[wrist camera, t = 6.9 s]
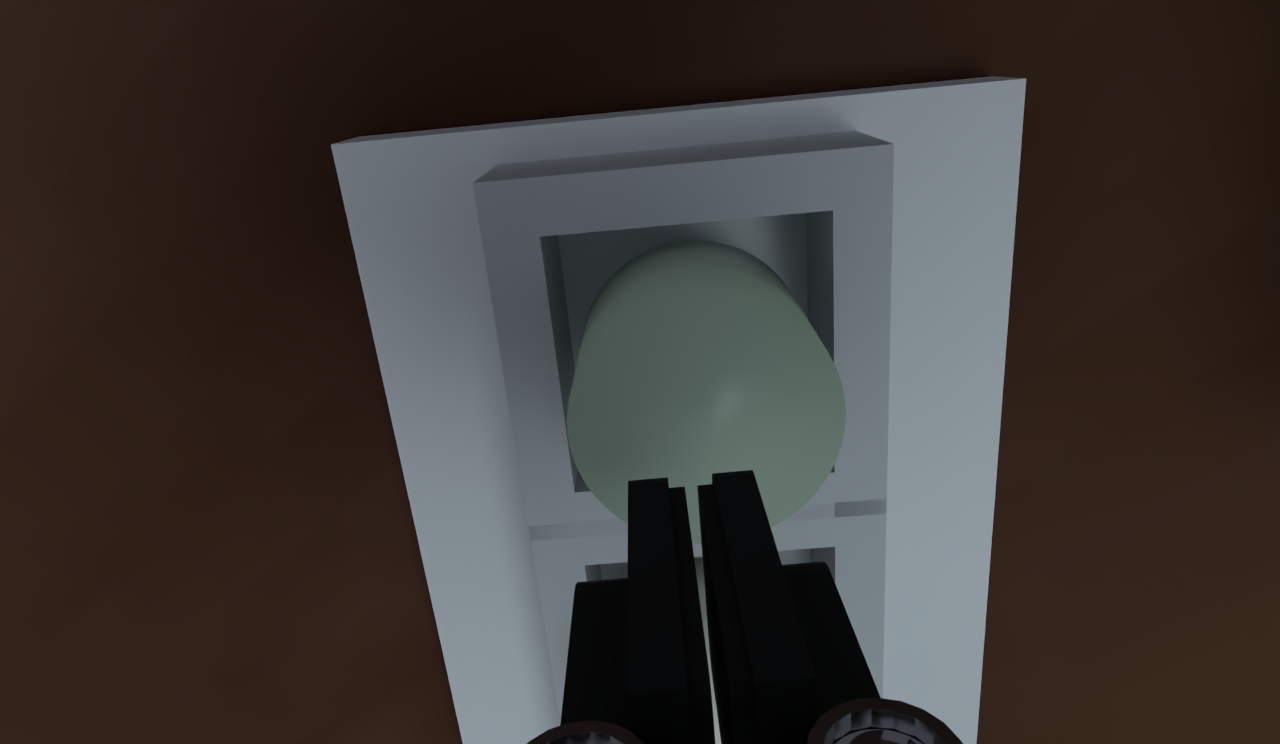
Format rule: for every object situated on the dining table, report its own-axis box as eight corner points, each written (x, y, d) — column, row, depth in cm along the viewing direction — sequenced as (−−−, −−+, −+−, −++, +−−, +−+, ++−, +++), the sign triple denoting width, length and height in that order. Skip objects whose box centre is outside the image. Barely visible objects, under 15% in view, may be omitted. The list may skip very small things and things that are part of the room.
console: (359, 136, 21) (276, 159, 16) (991, 76, 20) (1094, 83, 16) (509, 861, 30) (484, 1008, 26) (945, 834, 30) (1001, 979, 25)
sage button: (569, 251, 18) (549, 303, 14) (802, 230, 17) (846, 278, 14) (595, 457, 19) (583, 553, 16) (806, 440, 19) (845, 534, 15)
